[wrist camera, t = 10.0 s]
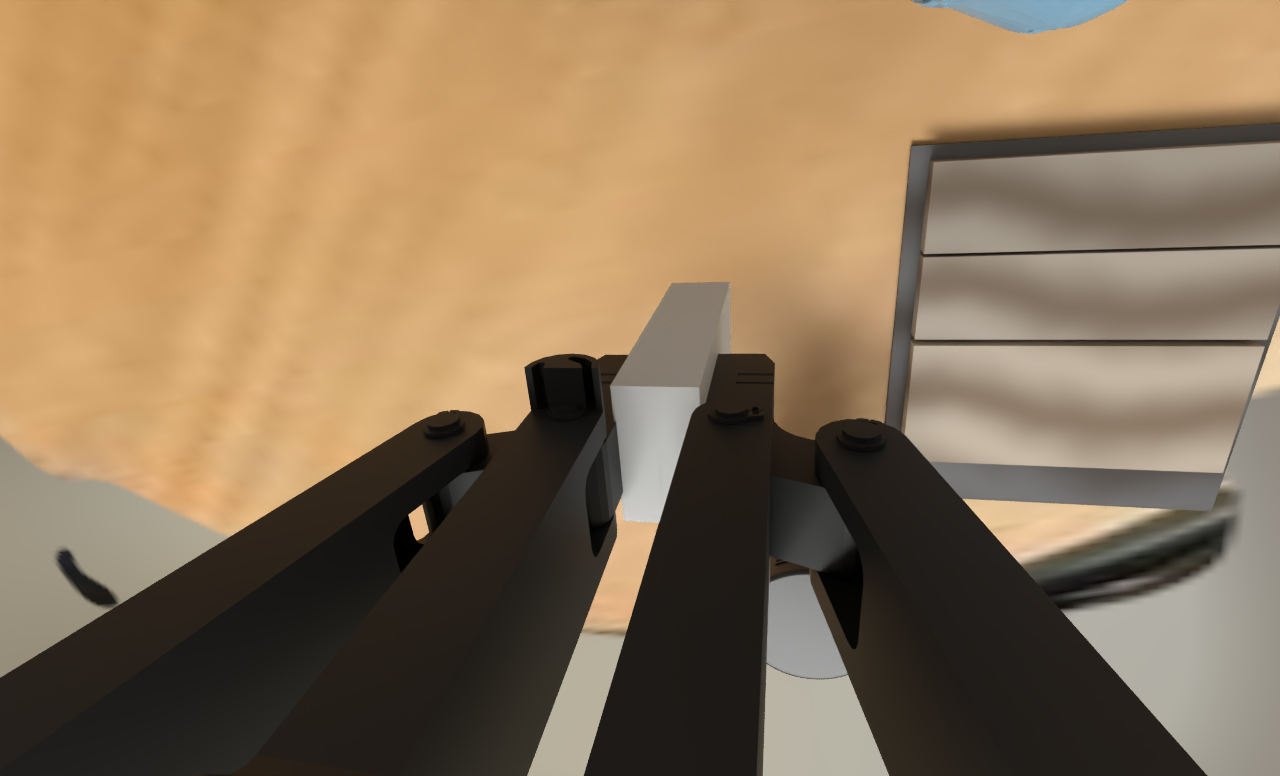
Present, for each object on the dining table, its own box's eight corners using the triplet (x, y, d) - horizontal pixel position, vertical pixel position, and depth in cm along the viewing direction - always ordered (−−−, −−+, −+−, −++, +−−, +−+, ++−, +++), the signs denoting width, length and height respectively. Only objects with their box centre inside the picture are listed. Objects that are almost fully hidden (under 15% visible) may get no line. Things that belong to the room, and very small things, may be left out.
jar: (892, 501, 45) (927, 627, 34) (821, 571, 48) (831, 705, 38) (787, 434, 44) (788, 541, 34) (723, 510, 48) (705, 628, 37)
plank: (910, 339, 40) (913, 345, 39) (1250, 339, 36) (1264, 346, 35) (899, 452, 43) (902, 460, 42) (1211, 463, 39) (1222, 473, 38)
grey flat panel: (910, 145, 35) (915, 147, 34) (1345, 119, 31) (1368, 120, 30) (878, 492, 45) (881, 504, 43) (1209, 509, 40) (1223, 522, 39)
